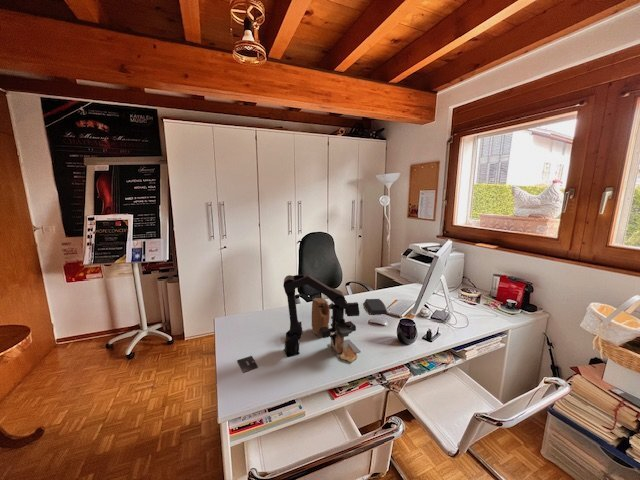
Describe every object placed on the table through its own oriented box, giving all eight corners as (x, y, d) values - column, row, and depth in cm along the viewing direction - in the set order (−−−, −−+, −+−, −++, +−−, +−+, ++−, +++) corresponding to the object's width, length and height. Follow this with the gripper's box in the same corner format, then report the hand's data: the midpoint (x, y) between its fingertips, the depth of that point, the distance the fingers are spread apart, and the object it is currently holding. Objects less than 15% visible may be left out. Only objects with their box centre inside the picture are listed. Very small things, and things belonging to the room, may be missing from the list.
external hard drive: (380, 303, 193) (381, 297, 192) (389, 315, 174) (389, 309, 173) (363, 303, 192) (363, 298, 191) (369, 315, 173) (370, 309, 172)
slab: (337, 353, 130) (338, 337, 128) (330, 345, 137) (331, 329, 136) (343, 352, 131) (343, 335, 130) (335, 344, 138) (336, 328, 137)
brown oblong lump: (310, 330, 153) (310, 298, 150) (321, 327, 157) (322, 295, 153) (319, 339, 144) (319, 305, 140) (331, 335, 148) (331, 302, 144)
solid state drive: (251, 356, 129) (251, 355, 129) (258, 368, 121) (258, 367, 120) (237, 361, 125) (237, 360, 125) (243, 373, 117) (243, 372, 117)
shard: (347, 346, 137) (348, 343, 136) (361, 351, 133) (362, 348, 133) (339, 358, 127) (339, 355, 127) (354, 364, 124) (354, 360, 123)
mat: (338, 358, 128) (338, 357, 128) (327, 345, 139) (327, 344, 139) (360, 352, 133) (360, 351, 133) (348, 339, 144) (348, 339, 144)
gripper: (328, 327, 120) (327, 358, 123) (362, 320, 127) (361, 349, 130) (318, 316, 130) (317, 345, 133) (350, 310, 137) (349, 337, 140)
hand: (337, 344), depth 134 cm, fingers closed on slab, 3 cm apart
